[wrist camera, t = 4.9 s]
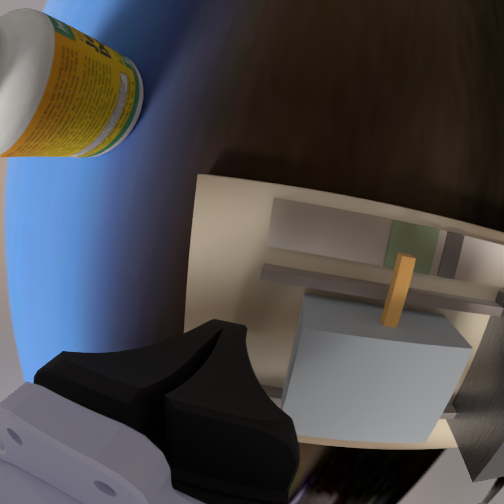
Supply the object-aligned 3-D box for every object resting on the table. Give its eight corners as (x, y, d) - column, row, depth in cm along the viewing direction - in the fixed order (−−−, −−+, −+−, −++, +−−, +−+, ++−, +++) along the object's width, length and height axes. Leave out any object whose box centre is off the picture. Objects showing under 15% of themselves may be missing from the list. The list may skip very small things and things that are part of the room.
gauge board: (453, 434, 14) (463, 455, 12) (188, 403, 16) (175, 426, 14) (532, 241, 11) (555, 249, 9) (206, 174, 13) (190, 174, 11)
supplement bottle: (51, 144, 14) (-104, 146, 5) (83, 50, 13) (-58, -1, 3) (125, 171, 14) (-62, 184, 5) (165, 63, 12) (10, -32, 3)
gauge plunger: (409, 399, 12) (425, 442, 10) (283, 385, 13) (276, 431, 10) (459, 258, 11) (496, 280, 8) (315, 230, 12) (319, 247, 9)
